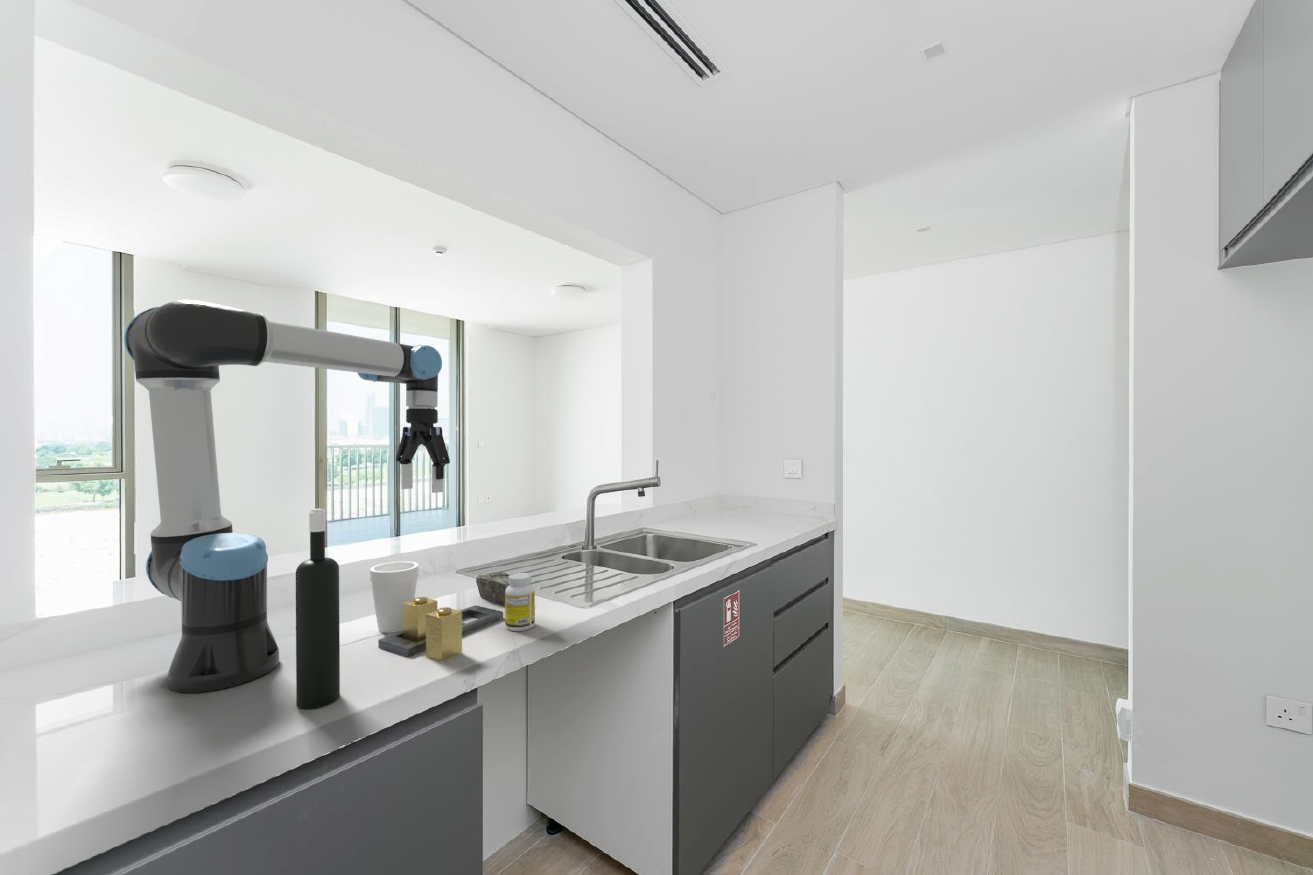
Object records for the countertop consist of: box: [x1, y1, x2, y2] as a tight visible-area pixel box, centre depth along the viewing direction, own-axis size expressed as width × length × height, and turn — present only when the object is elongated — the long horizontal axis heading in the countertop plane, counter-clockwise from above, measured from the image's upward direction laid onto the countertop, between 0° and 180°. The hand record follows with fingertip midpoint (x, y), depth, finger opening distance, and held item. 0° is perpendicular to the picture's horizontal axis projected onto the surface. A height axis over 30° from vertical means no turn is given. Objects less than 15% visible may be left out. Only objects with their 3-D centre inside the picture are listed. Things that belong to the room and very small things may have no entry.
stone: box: [475, 571, 510, 605], centre depth 136 cm, size 14×7×10 cm, turn 62°
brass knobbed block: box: [425, 607, 463, 663], centre depth 102 cm, size 4×4×9 cm
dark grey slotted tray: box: [377, 605, 504, 658], centre depth 114 cm, size 24×9×2 cm, turn 150°
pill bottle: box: [504, 572, 536, 632], centre depth 117 cm, size 6×6×11 cm
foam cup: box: [369, 560, 420, 634], centre depth 117 cm, size 10×9×13 cm
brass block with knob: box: [402, 596, 438, 643], centre depth 109 cm, size 4×4×9 cm
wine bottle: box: [295, 507, 341, 710], centre depth 85 cm, size 6×6×30 cm
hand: (421, 490), depth 140 cm, fingers open, 13 cm apart
